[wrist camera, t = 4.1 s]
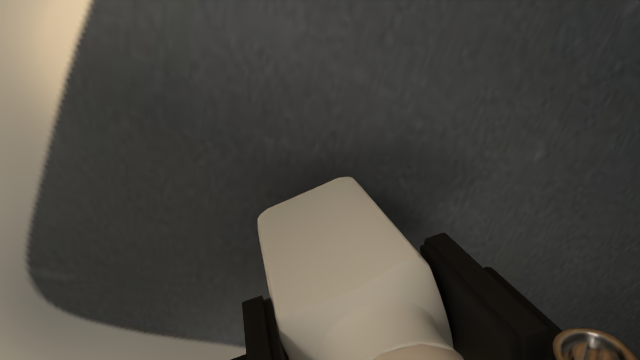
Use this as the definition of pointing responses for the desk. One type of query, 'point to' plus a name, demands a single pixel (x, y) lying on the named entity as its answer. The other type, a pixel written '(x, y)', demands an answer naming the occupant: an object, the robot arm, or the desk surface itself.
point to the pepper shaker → (349, 281)
